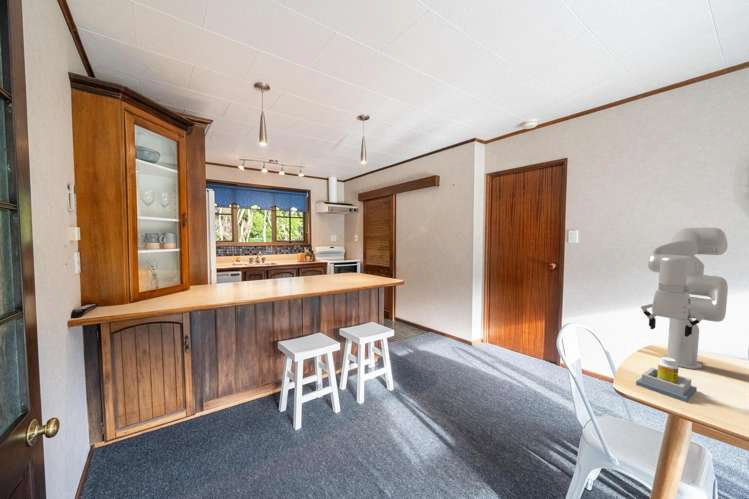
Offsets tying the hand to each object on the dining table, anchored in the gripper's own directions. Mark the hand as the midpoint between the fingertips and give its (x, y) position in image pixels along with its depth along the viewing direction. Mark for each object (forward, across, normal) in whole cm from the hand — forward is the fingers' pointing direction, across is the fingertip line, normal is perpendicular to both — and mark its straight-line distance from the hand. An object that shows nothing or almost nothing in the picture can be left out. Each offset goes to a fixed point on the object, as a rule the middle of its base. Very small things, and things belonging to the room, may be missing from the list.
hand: (669, 332), depth 113 cm
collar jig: (+22, 0, +1) cm, 22 cm away
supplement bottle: (+21, 0, 0) cm, 21 cm away
